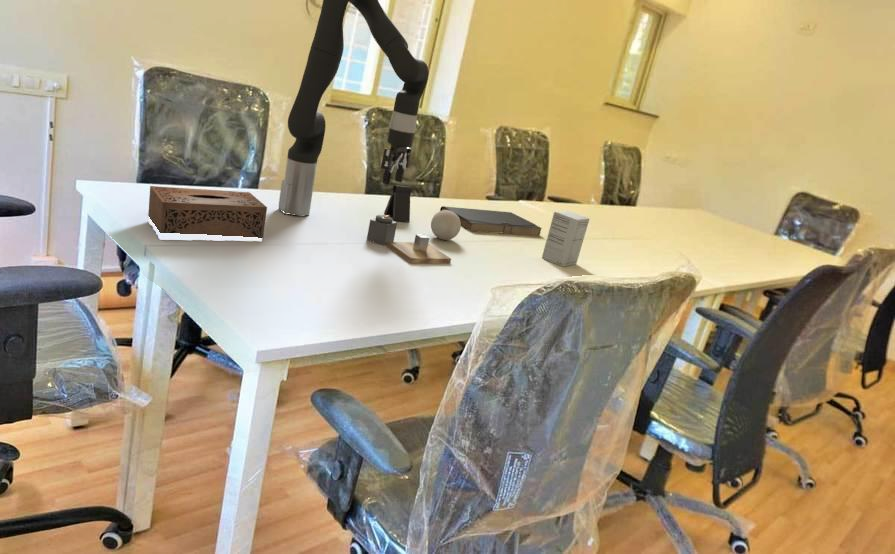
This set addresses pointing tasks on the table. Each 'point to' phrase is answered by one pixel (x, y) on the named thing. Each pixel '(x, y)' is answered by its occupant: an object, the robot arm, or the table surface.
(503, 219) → the file folder
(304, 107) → the robot arm
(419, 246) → the matte grey cube
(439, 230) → the eye model
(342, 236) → the table surface
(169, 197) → the tissue box cover
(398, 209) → the phone stand
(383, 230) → the knob
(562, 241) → the supplement box
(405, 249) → the base plate
